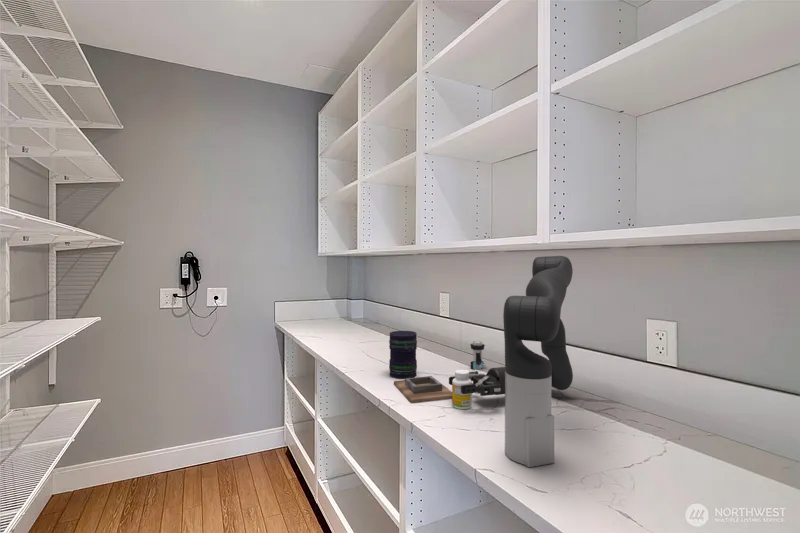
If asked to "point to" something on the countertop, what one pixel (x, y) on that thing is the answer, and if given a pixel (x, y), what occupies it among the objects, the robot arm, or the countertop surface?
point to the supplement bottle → (457, 397)
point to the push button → (477, 355)
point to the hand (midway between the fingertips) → (455, 385)
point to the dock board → (423, 389)
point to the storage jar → (403, 354)
